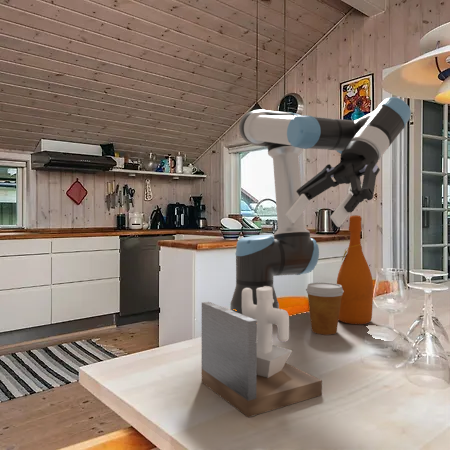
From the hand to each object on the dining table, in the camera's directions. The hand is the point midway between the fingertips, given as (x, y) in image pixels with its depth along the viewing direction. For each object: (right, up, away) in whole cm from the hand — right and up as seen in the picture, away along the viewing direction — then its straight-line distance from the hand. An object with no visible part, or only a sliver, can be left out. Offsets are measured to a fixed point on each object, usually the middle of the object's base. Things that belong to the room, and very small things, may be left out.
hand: (310, 220), depth 86 cm
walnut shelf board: (-12, -29, -13) cm, 34 cm away
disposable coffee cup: (+8, -29, +22) cm, 37 cm away
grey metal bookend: (-17, -27, -16) cm, 36 cm away
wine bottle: (+19, -28, +33) cm, 47 cm away
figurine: (-11, -27, -11) cm, 31 cm away
